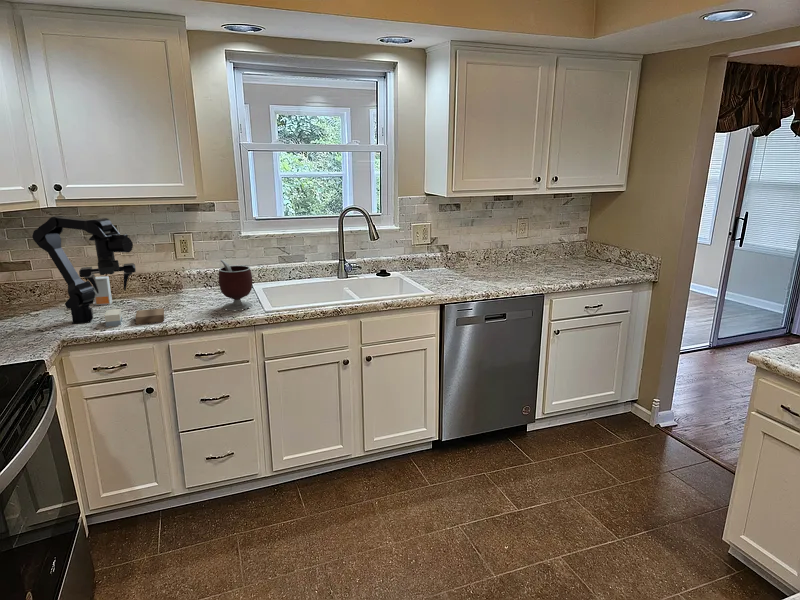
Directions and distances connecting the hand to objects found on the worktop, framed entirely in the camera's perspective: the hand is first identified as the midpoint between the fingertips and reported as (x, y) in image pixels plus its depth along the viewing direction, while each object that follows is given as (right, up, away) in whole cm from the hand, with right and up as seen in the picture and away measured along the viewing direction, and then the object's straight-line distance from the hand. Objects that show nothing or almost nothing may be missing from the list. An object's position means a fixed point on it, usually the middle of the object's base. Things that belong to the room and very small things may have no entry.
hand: (111, 291), depth 205 cm
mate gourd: (+40, -6, +27) cm, 49 cm away
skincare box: (-20, -5, +30) cm, 37 cm away
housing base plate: (-1, -13, +4) cm, 13 cm away
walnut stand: (+11, -11, +8) cm, 18 cm away
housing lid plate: (-1, -10, +3) cm, 11 cm away
